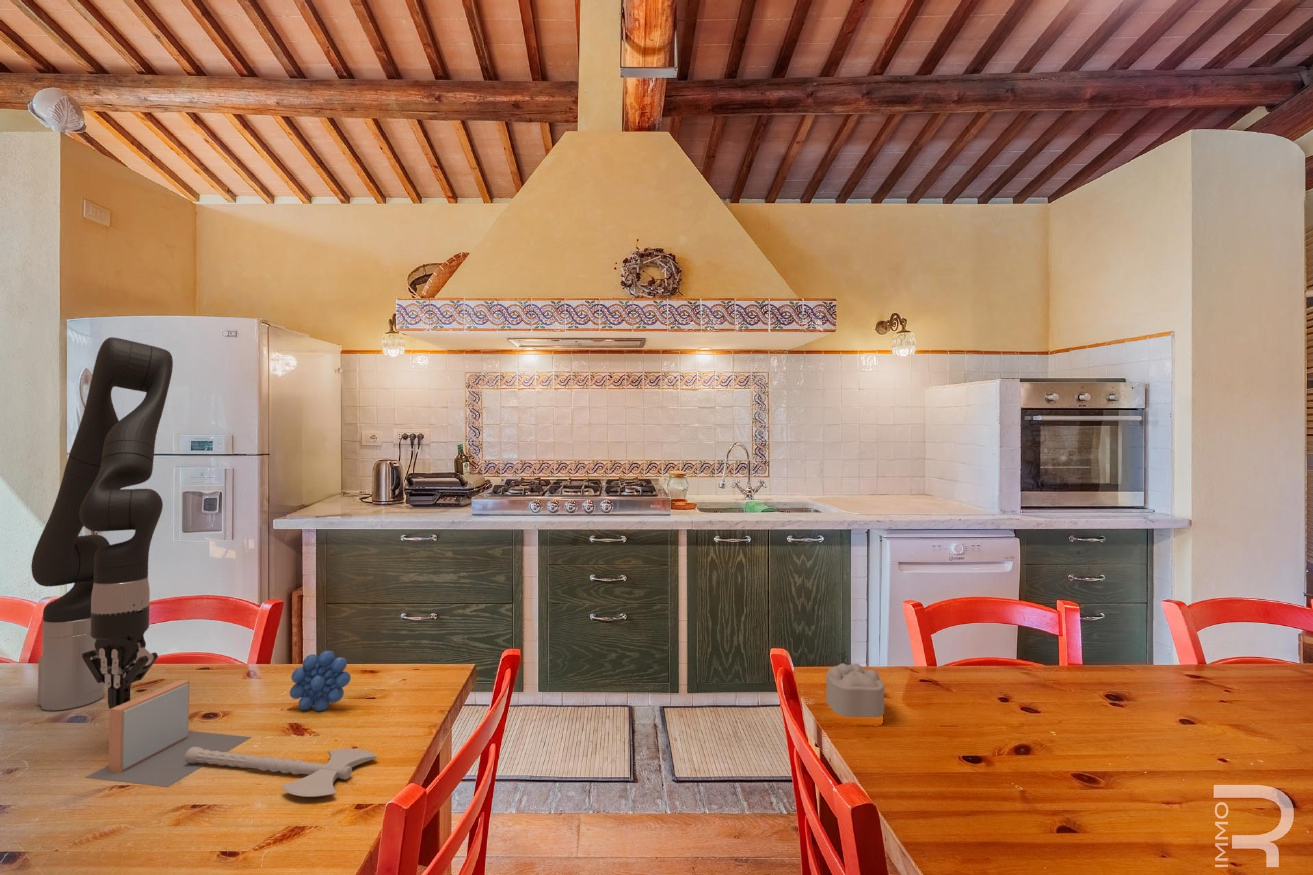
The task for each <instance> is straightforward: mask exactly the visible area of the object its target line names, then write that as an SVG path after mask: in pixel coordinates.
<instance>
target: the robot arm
mask: <svg viewBox="0 0 1313 875" xmlns="http://www.w3.org/2000/svg"><path fill="white" fill-rule="evenodd" d="M172 355H173V354H172V353H171V352H170V350H169V351H168V350H167V349H164V348H162V347H157V346H154V345H150V344H147V343H142V342H138V341H133V340H129V339H125V338H119V337H108V338H106V339H105V340H104V341H103V342H102V343H101V345H100V347H99V349H98V352H97V354H96V359H95V362H94V367H93V370H92V375H91V380H90V385H89V389H88V393H87V397H86V400H85V401H86V402H85V405H84V409H83V414H82V416H81V421H80V422H79V426H78V428H77V432H76V435H75V437H74V441H73V443H72V445H71V448H70V451H69V455H68V458H67V461H66V464H65V467H64V472H63V476H62V479H61V484H60V487H59V489H58V493H57V496H56V499H55V502H54V505H53V507H52V510H51V512H50V515H49V518H48V520H47V522H46V524H45V526H44V528H43V530H42V533H41V535H40V536H39V539H38V542H37V544H36V547H35V549H34V552H33V554H32V555H33V556H32V560H31V564H30V565H31V575H32V578H33V580H34V581H35V583H37V584H38V585H40V586H42V587H49V588H50V587H60V586H65V585H69V584H73V586H72V587H71V589H69V591H67V592H66V593H65V594H63V595H61V596H59V597H58V598H56V599H54V600H52V601H51V602H49V603H48V604H46V605H45V606H44V607H43V610H42V654H41V656H39V658H38V665H37V666H38V667H37V668H38V670H37V672H38V673H37V674H38V675H37V676H38V677H37V706H41V707H40V708H41V709H42V710H44V711H62V710H70V709H75V708H79V707H83V706H86V705H89V704H92V703H94V702H96V701H100V699H101V698H103V697H104V696H105V687H106V688H107V705H108V709H109V710H110V709H111V708H114V707H116V706H119V705H121V704H123V703H126V702H128V701H131V685H132V684H133V683H136V682H139V681H142V680H143V678H144V677H145V675H146V674H147V673H148V672H149V670H150V669H151V667H152V666H153V665H154V663H155V662H156V661H157V659H158V657H159V655H158V653H157V652H152V653H150V651H149V650H148V649H146V647H147V646H146V645H147V643H146V640H145V636H144V634H145V632H147V631H148V629H149V627H150V596H151V595H150V593H151V591H150V583H149V557H150V556H149V555H150V554H149V552H150V547H151V542H152V539H153V536H154V534H155V531H156V528H157V525H158V523H159V521H160V517H161V514H162V512H163V508H164V505H163V499H162V496H160V494H159V493H158V492H157V491H156V490H154V489H151V488H128V487H131V486H137V485H140V484H142V483H146V482H147V481H148V480H150V478H151V477H152V475H153V470H154V460H155V458H154V457H155V445H156V440H157V434H158V428H159V425H160V422H161V419H162V415H163V412H164V408H165V404H166V401H167V400H166V399H167V396H168V392H169V388H170V384H171V379H172V373H173V367H174V366H173V365H174V364H173V363H174V361H173V356H172ZM114 387H117V388H121V389H127V390H131V391H138V392H143V393H146V394H145V397H144V398H143V399H142V401H141V403H139V405H137V406H136V407H135V408H134V409H133V410H131V412H129V413H128V414H127V415H126V416H124V417H122V418H121V419H120V420H119V418H118V415H117V412H116V411H115V407H114V404H113V401H112V400H113V399H112V390H113V388H114ZM126 487H127V488H128V489H127V488H126ZM83 528H85V529H87V530H89V531H92V532H97V533H98V532H100V533H101V532H112V531H113V532H114V531H119V532H120V531H130V530H131V531H135V532H134V535H133V536H132V537H131V538H130V539H128V540H125V541H122V542H121V541H120V542H117V543H112V544H111V543H110V542H109V540H108V539H107V538H106V537H105V536H103V535H99V534H86V535H80V533H81V531H82V529H83Z"/></svg>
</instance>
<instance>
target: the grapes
mask: <svg viewBox="0 0 1313 875" xmlns="http://www.w3.org/2000/svg"><path fill="white" fill-rule="evenodd" d="M347 664H348V660H347V659H346V658H345V657H343V656H340V657H336V658H335V654H334V652H333V651H332V650H324V651H322V652H321V653H320V655H319V656H318V655H317V654H315V653H314V654H309V655H306V657H305V658H304V659H303V660H302V666H300V667H298V668H296V669H294V670H293V672H292V673H291V677H290V678H291V682H293V683H294V685H292V686H291V688H290V689H289V690H290V691H289V696H290V697H291V698H292V699H294V700H299V701H298V708H299V709H300V710H302V711H308V710H309V709H311V708H313V709H314V711H316V712H323V711H325V710H327V709H328V708H329V706H330V703H333V704H334V703H335V704H336V703H338V702H340V701H341V700H342V698H343V697H344V694H345V691H344V687H346V686H348V685H349V683H350V681H351V677H352V676H351V674H350V672H348V671H345V669H346V668H347Z"/></svg>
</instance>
